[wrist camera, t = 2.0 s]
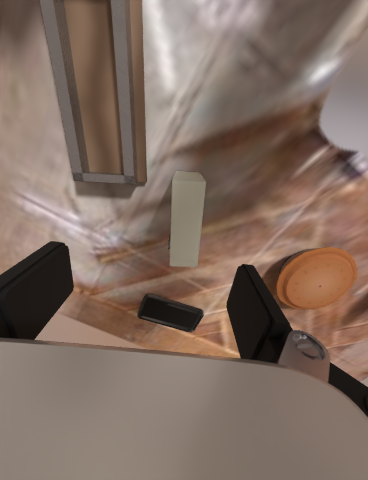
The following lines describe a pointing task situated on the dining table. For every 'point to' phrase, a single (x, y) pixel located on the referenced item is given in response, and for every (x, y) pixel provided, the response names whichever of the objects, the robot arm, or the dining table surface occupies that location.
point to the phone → (169, 313)
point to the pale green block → (186, 218)
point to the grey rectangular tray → (100, 86)
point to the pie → (316, 277)
